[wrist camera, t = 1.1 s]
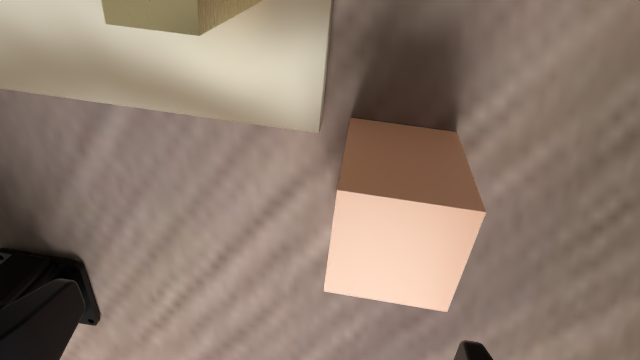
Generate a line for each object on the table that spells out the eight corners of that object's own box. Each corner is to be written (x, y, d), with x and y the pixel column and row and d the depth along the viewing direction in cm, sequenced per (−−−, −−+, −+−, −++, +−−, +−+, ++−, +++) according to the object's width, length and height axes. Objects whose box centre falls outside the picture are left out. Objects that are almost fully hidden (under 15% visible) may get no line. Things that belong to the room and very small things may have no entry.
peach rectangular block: (431, 216, 22) (446, 312, 17) (338, 202, 22) (323, 291, 17) (456, 132, 19) (486, 212, 14) (350, 117, 20) (337, 190, 14)
